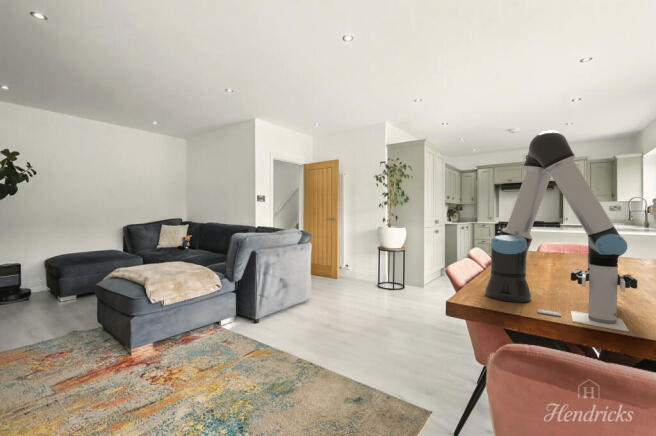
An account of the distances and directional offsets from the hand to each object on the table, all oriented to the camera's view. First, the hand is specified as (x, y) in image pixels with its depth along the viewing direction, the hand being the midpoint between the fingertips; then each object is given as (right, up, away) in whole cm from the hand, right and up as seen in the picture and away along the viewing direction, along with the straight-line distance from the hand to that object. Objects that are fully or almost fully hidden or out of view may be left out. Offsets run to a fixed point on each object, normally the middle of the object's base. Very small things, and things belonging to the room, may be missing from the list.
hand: (602, 284), depth 87 cm
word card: (-8, -12, +11) cm, 18 cm away
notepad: (+2, -12, +4) cm, 13 cm away
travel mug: (+3, -12, +4) cm, 13 cm away
